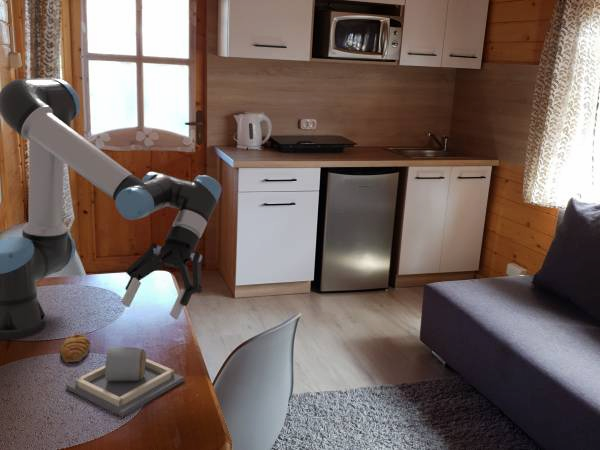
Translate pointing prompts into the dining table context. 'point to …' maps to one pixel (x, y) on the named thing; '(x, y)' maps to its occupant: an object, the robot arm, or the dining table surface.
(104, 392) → the tray
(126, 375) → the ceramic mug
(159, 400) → the dining table surface
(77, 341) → the pastry
